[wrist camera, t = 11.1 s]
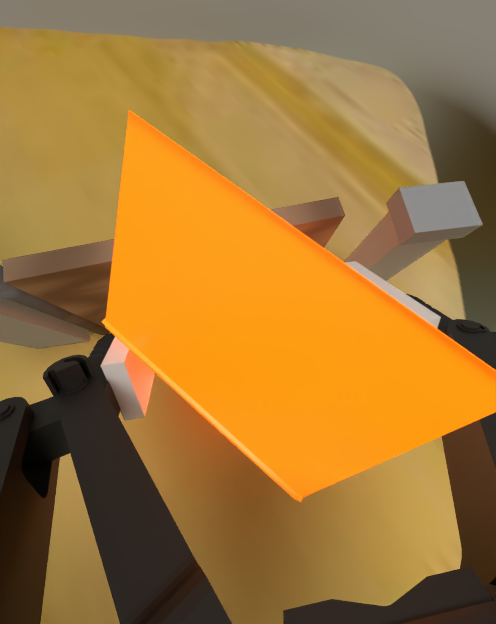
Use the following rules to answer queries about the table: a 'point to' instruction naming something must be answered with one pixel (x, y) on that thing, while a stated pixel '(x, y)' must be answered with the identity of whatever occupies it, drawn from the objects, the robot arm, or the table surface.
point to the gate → (98, 261)
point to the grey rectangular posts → (370, 253)
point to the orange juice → (274, 328)
